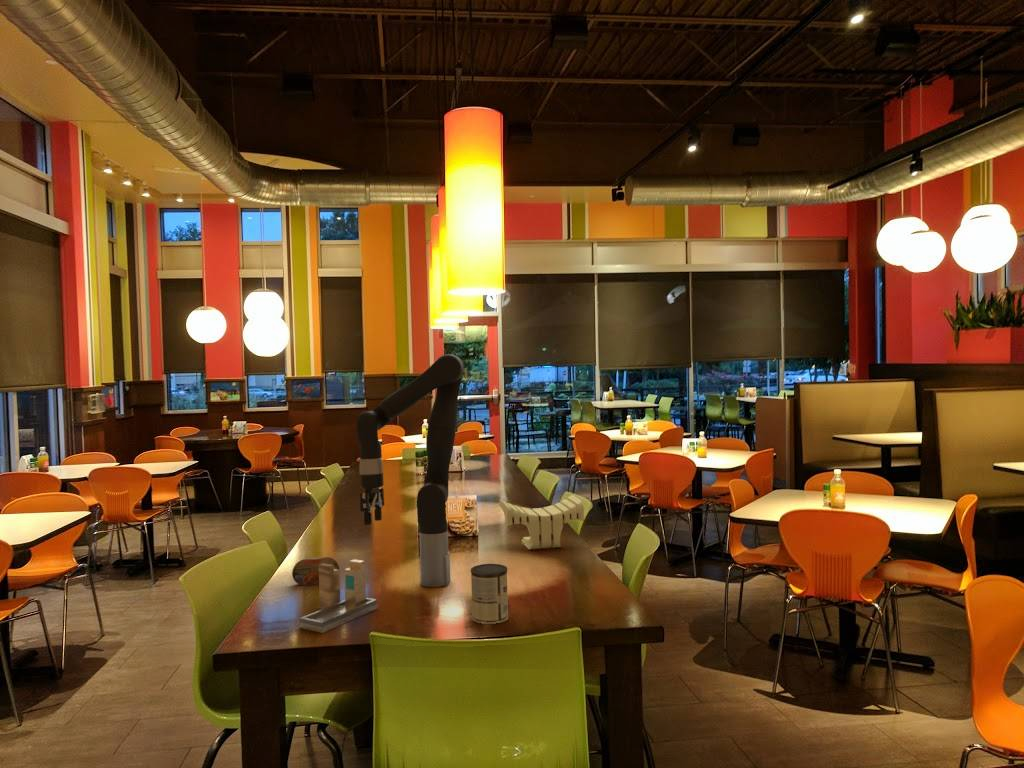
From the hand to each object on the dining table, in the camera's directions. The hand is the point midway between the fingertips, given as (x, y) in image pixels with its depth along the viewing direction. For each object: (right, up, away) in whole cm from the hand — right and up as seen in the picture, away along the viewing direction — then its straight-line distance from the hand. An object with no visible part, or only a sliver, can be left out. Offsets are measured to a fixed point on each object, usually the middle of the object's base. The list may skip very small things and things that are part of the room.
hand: (373, 522), depth 238 cm
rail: (-4, -22, -29) cm, 37 cm away
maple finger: (-9, -22, -20) cm, 31 cm away
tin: (-20, -21, +5) cm, 30 cm away
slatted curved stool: (+57, -19, +49) cm, 77 cm away
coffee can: (+39, -21, -32) cm, 55 cm away
